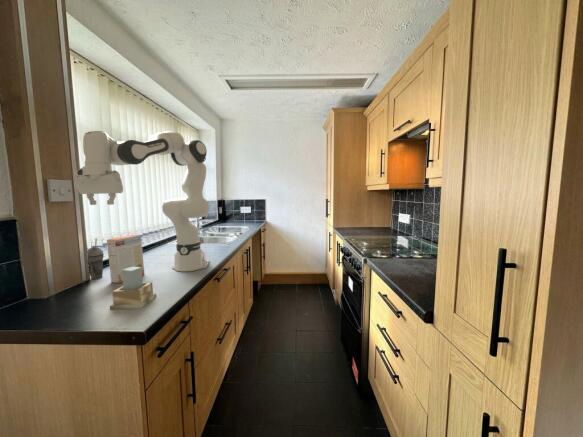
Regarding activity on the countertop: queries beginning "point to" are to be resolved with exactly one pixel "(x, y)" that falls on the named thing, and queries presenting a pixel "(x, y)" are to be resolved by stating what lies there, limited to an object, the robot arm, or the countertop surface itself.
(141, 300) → the cup collar
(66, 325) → the countertop surface
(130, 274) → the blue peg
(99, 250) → the beverage cup
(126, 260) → the cracker box
